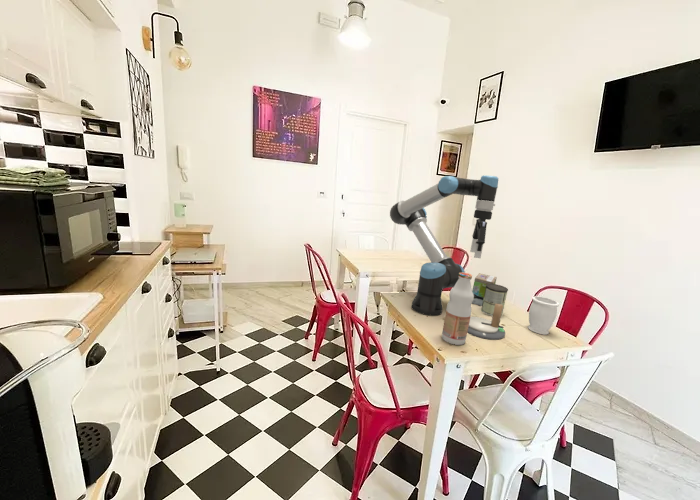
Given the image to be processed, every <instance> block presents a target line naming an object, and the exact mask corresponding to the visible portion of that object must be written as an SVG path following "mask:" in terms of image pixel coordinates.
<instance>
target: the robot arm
mask: <svg viewBox="0 0 700 500" xmlns="http://www.w3.org/2000/svg"><path fill="white" fill-rule="evenodd" d="M498 185H499V177H498V176H495V175H485V174H484V175H481V177H480V179H471V178H470V179H469V178H463V177H457V176H452V175H445V176H442V177H441V178H440V180H439V181H438V183H436V184H435V185H432V186H430V187H429V188H426V189H425V190H423V191H421V192H419V193H417V194H416V195H414V196H412V197H409V198H408V199H406V200H400V201H398V202H397V203H394V204H393V205H392V206H391V208H390V209H389V217H390V220H391V221H392V222H394V223H395V224H397V225H404V226H406V228H407V229H408V230H409V232H413V233H414V235H415V237H416V239H417V241H418V242H419V244H420V247H421V248H422V249H423V251H424V253H425V254H426V256H427V257H428V259H429V262H426V263H423V264H422V265H421V267H420V271H419V277H418V284H417V285H418V286H417V291H416V294H415V296H414V298H413V299H412V302H411V309H412V310H413V311H415V312H417V313H419V314H422V315H425V316H434V317H435V316H440V315H441V314H442V313H443V308H444V307H443V301H442V293H443V289H450V288H453V287H454V286H455V284H456V282H457V281H458V279H459V277H458V275H459V273H461V272H463V273H466V271H465V268H464V267H463V266H462V265H460V264H458V263H456V262H455V261H454V260H453V257H450V256H448V255H447V254H446V252H445V251H444V250H443V247H442V246H441V244H440V242H439V241H438V240H437V239H436V236H435V235H434V233H433V232H432V231H431V228H430V227H429V226H428V224H427V222H428V219H427V215H428V214H427V210H426V207H428V206H430V205H433V204H434V203H437V202H439V201H441V200H443V199H445V198H447V197H449V196H450V197H451V196H452V195H460V196H468V197H469V196H471V197H476V201H475V209H474V213H473V218H475V219H476V220H475V226H474V229H473V233H472V235H471V236H472V241H471V247H470V253H473V254H474V255H473V258H475V259H481V257H482V254H483V253H482V252H483V248H484V244H485V243H486V234H487V224H488V221H486V220H489V221H490V220H491V219H492V217H493V216H492V215H493V210H494V207H495V206H496V204H495V199H496V195H497V191H498V188H499V186H498Z"/></svg>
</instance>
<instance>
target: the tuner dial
mask: <svg viewBox="0 0 700 500" xmlns="http://www.w3.org/2000/svg"><path fill="white" fill-rule="evenodd" d="M502 309H503V305H501V304H497V303H496V304H495V308H494V312H493V316H491V317H492V319H491V320H490V319H487V318H484V317H479V316H471V317H470V322H469V327H470V328H472V329H474V330H476V331H480V332H484V333H496V332H497V331H498V328H499V327H500V328H503V329H504V326H503V325H500V322H501V318H502V316H501V314H502ZM503 310H504V309H503ZM502 315H503V314H502Z"/></svg>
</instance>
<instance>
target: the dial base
mask: <svg viewBox="0 0 700 500" xmlns="http://www.w3.org/2000/svg"><path fill="white" fill-rule="evenodd" d="M467 335H471V336H473V337H476V338H480V339H485V340H491V341H494V340H495V341H496V340H502V339H503V338H505V336H506V331H505V329H504V328H500V327H499V328H498V331H497V332H496V333H484V332H480V331H476V330H474V329H472V328H470V327H468V332H467Z"/></svg>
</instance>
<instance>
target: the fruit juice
mask: <svg viewBox="0 0 700 500" xmlns="http://www.w3.org/2000/svg"><path fill="white" fill-rule="evenodd" d="M458 277H459V279H458V281H457V282H456V284H455V286H454V287H451V289H450V292H449V294H448V295H449V297H448V298H449V301H448V303H447V305H446V309H445V315H444V320H443V325H442V331H441V339H442V340H443V341H445V342H446V343H448V342H449V343H448V344H451V345H454V344H455V345H456V346H462V345H464V344H465V343H466V341H467V336H468V333H467V332H468V327H469V322H470V317H472V311H473V310H472V308H473V307H472V305H473V303H472V302H473V299H474V294H473V292H472V290H473V287H472V282H471V280H472V278H473V275H472V274H471V273H469V272H465V273H463V272H461V273H459V275H458Z"/></svg>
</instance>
